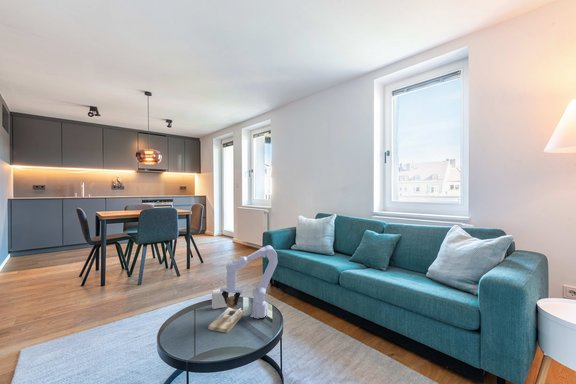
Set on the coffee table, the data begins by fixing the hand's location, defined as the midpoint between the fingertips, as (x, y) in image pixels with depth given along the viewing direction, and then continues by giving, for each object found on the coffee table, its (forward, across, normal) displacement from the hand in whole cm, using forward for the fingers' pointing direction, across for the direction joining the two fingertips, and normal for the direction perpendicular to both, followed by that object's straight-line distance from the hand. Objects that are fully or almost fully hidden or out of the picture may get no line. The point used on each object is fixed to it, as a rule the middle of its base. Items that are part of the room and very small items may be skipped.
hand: (231, 303), depth 162 cm
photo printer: (+10, +14, -12) cm, 21 cm away
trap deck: (+9, +1, +3) cm, 10 cm away
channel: (+7, +1, 0) cm, 7 cm away
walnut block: (+1, 0, 0) cm, 1 cm away
